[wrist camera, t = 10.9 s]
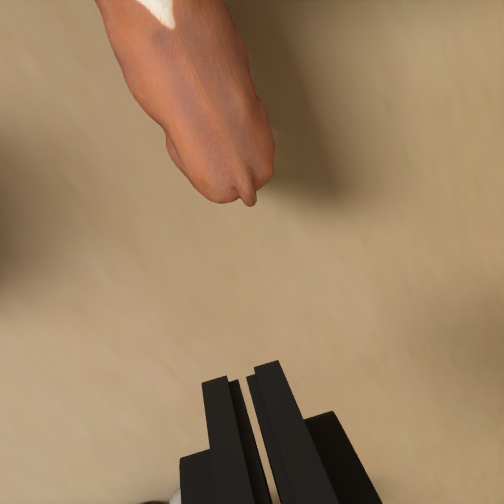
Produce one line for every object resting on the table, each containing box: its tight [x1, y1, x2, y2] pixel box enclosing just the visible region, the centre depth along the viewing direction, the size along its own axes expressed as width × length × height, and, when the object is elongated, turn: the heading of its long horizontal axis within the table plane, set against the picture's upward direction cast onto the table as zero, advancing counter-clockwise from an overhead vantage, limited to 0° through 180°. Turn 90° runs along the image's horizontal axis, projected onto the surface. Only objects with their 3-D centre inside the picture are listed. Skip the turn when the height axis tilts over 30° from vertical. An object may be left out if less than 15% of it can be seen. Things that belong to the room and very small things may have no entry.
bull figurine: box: [95, 0, 275, 207], centre depth 17 cm, size 4×13×8 cm, turn 18°
